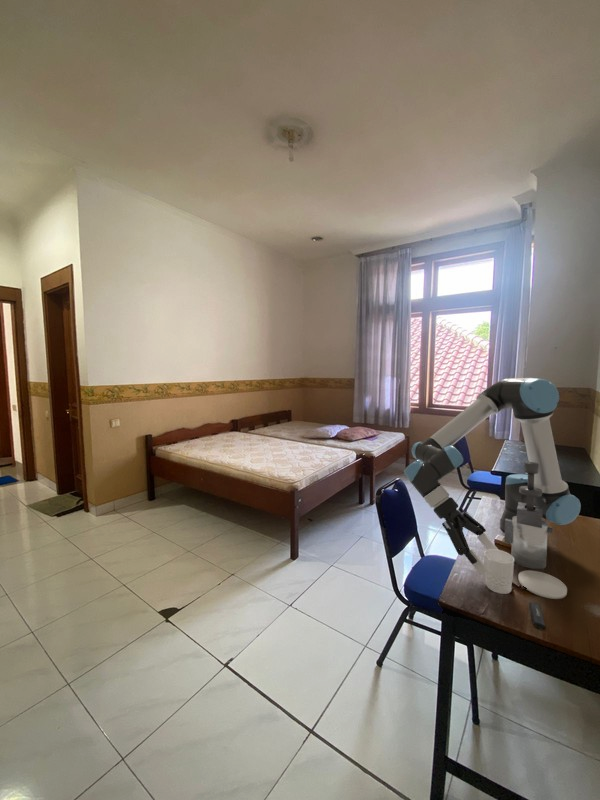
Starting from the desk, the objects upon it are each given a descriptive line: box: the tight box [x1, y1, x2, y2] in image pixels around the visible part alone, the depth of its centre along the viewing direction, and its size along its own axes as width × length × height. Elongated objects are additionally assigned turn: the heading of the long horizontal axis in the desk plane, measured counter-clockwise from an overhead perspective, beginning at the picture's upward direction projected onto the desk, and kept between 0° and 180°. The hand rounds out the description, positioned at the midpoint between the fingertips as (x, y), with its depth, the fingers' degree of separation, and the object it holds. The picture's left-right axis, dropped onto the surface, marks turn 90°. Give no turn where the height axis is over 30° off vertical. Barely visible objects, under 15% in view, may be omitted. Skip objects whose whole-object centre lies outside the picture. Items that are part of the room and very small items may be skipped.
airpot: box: [504, 502, 553, 570], centre depth 114 cm, size 13×10×19 cm
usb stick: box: [528, 601, 546, 630], centre depth 89 cm, size 10×3×2 cm, turn 152°
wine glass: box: [519, 461, 542, 510], centre depth 113 cm, size 6×6×16 cm
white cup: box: [483, 548, 515, 595], centre depth 101 cm, size 8×8×10 cm
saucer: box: [518, 569, 568, 600], centre depth 101 cm, size 12×12×1 cm
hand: (490, 562), depth 101 cm, fingers open, 13 cm apart
